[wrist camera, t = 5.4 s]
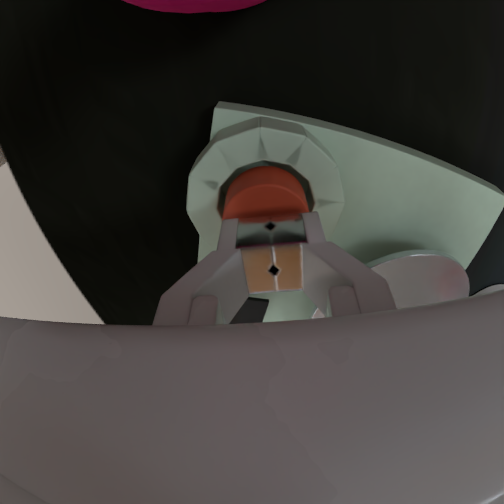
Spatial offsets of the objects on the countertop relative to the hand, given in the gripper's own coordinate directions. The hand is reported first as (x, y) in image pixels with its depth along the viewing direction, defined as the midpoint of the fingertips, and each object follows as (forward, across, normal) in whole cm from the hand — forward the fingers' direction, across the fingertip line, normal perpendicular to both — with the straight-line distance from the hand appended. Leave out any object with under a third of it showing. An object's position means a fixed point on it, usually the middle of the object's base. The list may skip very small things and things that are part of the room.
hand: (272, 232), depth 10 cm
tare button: (+2, 0, 0) cm, 2 cm away
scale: (+5, -4, +5) cm, 8 cm away
